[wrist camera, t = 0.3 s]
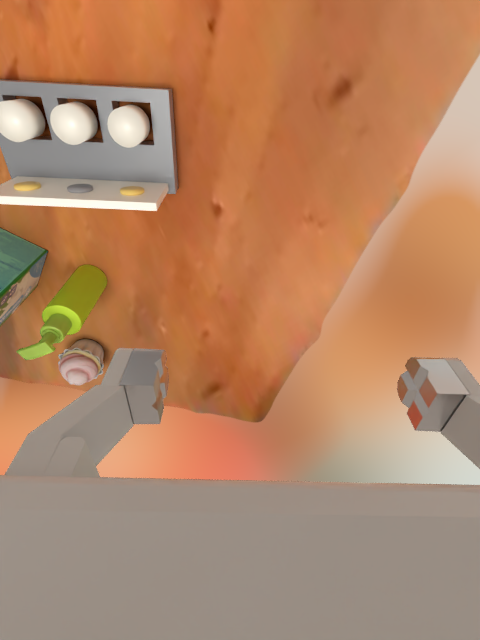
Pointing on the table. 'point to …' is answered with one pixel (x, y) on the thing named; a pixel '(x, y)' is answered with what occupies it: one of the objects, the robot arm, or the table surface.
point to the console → (91, 153)
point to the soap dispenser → (68, 309)
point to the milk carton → (17, 271)
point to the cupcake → (81, 362)
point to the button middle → (73, 122)
